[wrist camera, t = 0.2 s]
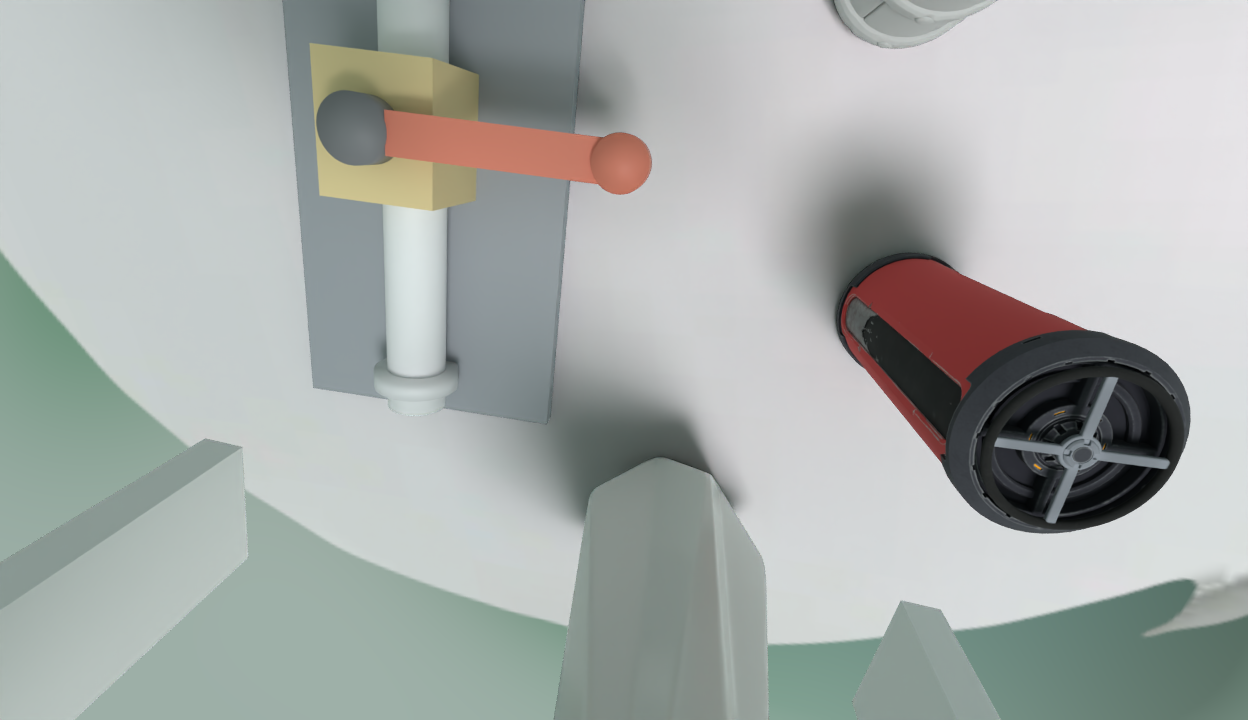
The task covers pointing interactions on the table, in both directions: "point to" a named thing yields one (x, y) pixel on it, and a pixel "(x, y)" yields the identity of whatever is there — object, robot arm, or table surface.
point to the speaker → (1016, 396)
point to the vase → (665, 604)
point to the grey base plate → (434, 203)
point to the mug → (905, 19)
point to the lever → (476, 144)
